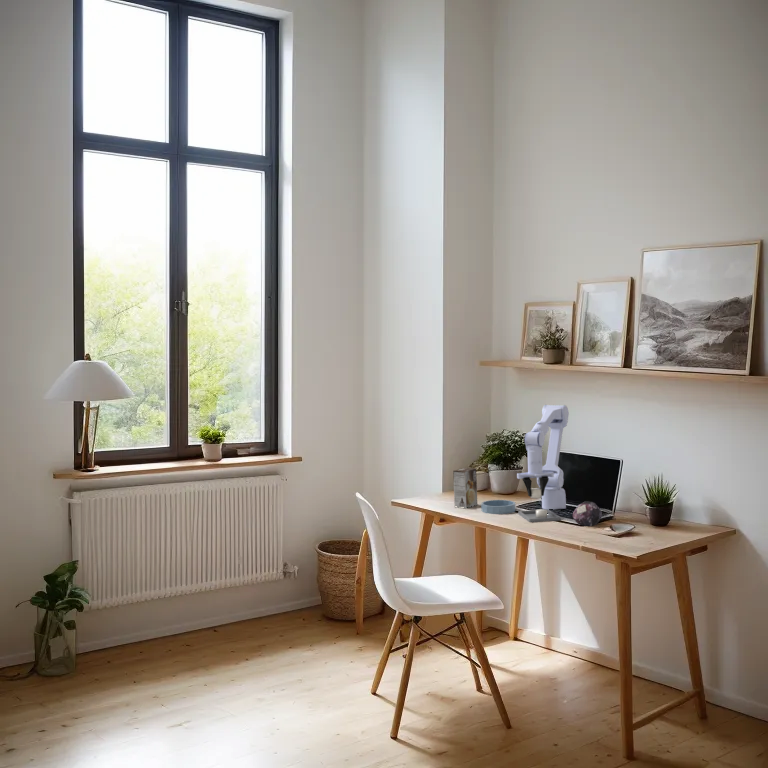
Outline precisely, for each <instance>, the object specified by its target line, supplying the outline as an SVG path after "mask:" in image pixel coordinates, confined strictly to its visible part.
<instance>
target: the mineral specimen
mask: <svg viewBox="0 0 768 768" xmlns="http://www.w3.org/2000/svg"><path fill="white" fill-rule="evenodd" d="M602 516H603V512H602V510H601V509H600V507H599V506H598V505H597V504H596V503H595V502H593V501H587V500H585V501H584V502H582V503H580V504H578V505H577V506H576V508H575V509H574V511H573V513H572V518H573V520H574V521H575V522H576V523H577V524H578V525H579V526H584V527H594V526H596V525H597V524H598V523H599V522H600V521H601V519H602Z"/></svg>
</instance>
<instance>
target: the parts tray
mask: <svg viewBox="0 0 768 768" xmlns="http://www.w3.org/2000/svg"><path fill="white" fill-rule="evenodd" d="M536 510H537V509H533V510H532V509H531V510H518V515H519V516H520V517H522V518H523V520H525V521H527V522H529V523H538V522H539V523H540V522H541V523H542V522H555V521H561V516H559V515H558V514H557V513H555V512H554V511H551V510H549V509H545V510H547V513H548V514H549V515H547V518H536Z"/></svg>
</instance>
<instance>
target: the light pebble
mask: <svg viewBox="0 0 768 768" xmlns="http://www.w3.org/2000/svg"><path fill="white" fill-rule="evenodd" d="M529 497H530V496H529ZM530 499H542V495H541V489H540V487H535V488H533V487H531V497H530Z"/></svg>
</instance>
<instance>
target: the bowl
mask: <svg viewBox="0 0 768 768" xmlns="http://www.w3.org/2000/svg"><path fill="white" fill-rule="evenodd" d="M516 505H517V503H516V502H515V501H514V500H507V499H491V500H485V501H482V502H481V504H480V506H481V512H482V513H484V514H488V515H489V514H491V515H503V514H505V515H507V514H512V513H515V512H516V511H517V509H516V508H517V507H516Z"/></svg>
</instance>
